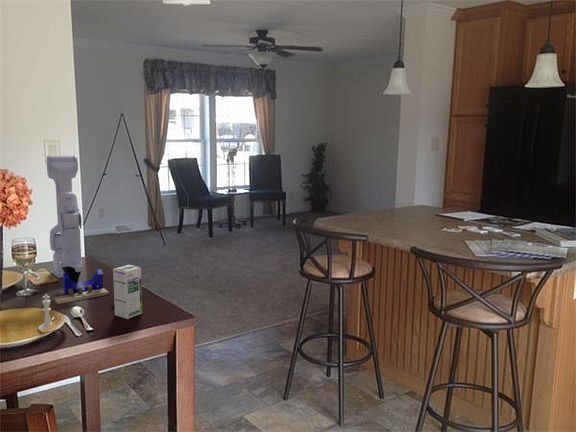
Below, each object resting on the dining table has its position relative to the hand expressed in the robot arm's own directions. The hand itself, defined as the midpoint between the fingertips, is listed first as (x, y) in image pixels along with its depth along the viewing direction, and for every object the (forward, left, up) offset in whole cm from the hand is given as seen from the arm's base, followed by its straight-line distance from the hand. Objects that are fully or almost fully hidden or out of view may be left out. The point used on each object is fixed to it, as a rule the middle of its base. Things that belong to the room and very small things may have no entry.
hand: (73, 287), depth 173 cm
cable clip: (+3, +2, -1) cm, 4 cm away
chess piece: (+29, -16, -1) cm, 33 cm away
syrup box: (+31, +6, -1) cm, 32 cm away
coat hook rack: (+8, 0, -1) cm, 8 cm away
